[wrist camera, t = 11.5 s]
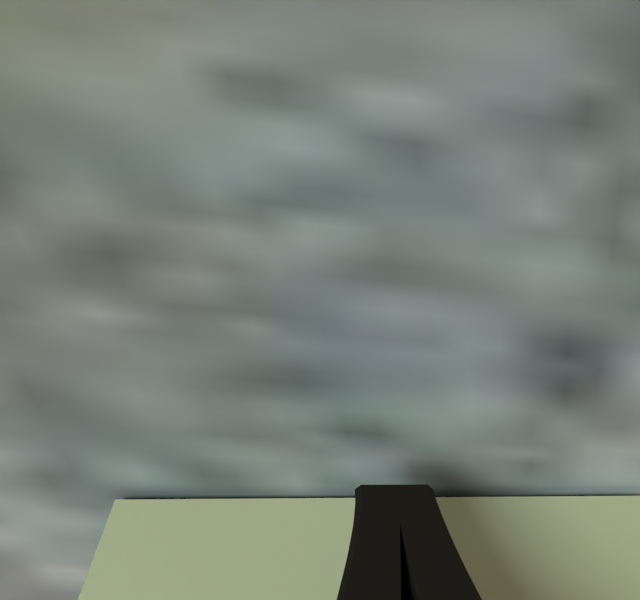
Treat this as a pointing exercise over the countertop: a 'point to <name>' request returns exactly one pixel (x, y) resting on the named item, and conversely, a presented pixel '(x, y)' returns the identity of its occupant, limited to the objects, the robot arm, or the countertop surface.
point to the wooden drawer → (334, 539)
